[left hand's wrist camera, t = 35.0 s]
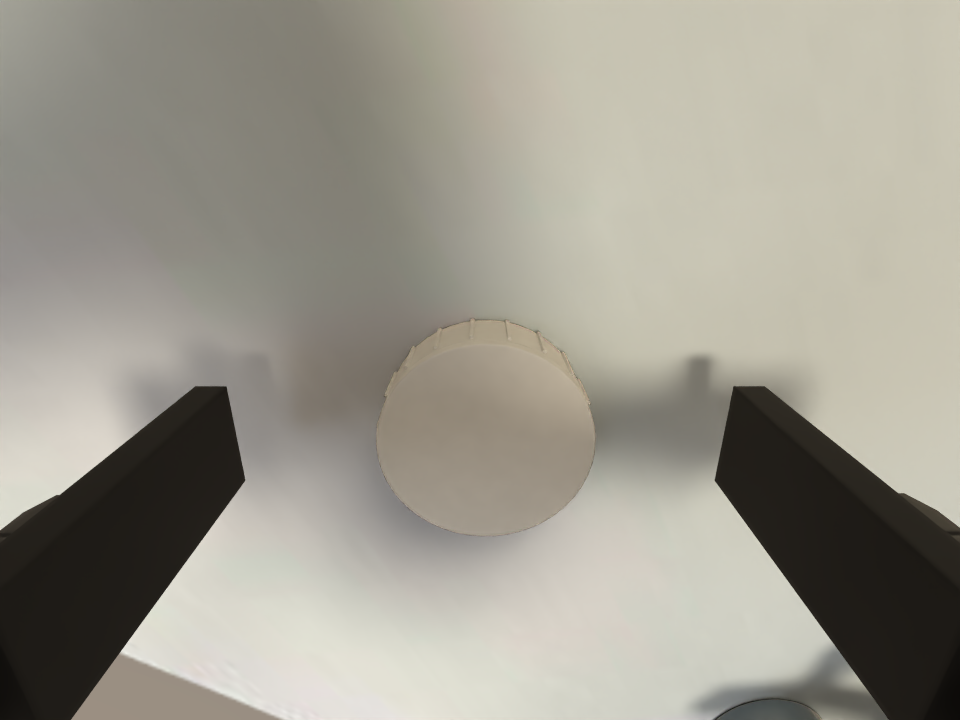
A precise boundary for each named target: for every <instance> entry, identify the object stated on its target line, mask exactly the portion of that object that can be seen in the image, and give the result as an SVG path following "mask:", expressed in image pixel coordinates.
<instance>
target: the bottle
mask: <svg viewBox="0 0 960 720" xmlns="http://www.w3.org/2000/svg"><path fill="white" fill-rule="evenodd" d="M716 720H822V718H821V717H820V716H819V715H818V714H817V713H816V712H815V711H814V710H812V709H811V708H809V707H807V706H805V705H803V704H801V703H798V702H794V701H789V700H781V699H768V700H760V701H754V702H750V703H746V704H743V705H741V706H738V707H736V708H734V709H731V710H730V711H728V712H726V713H724V714H723V715H722V716H720V717H719V718H718V719H716Z"/></svg>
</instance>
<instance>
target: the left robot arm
mask: <svg viewBox="0 0 960 720" xmlns="http://www.w3.org/2000/svg"><path fill="white" fill-rule="evenodd" d="M244 482H245V476H244V471H243V466H242V461H241V456H240V452H239V447H238V442H237V437H236V432H235V427H234V422H233V417H232V412H231V407H230V402H229V397H228V392H227V387H226V386H195V387H194V388H193V389H192V390H190V391H189V392H188V393H187V394H185V395H184V396H183V397H182V398H180V399H179V400H178V401H177V402H175V403H174V404H173V405H172V406H170V407H169V408H168V409H167V410H165V411H164V412H163V413H162V414H160V415H159V416H158V417H157V418H155V419H154V420H153V421H152V422H150V423H149V424H148V425H147V426H145V427H144V428H143V429H142V430H140V431H139V432H138V433H137V434H135V435H134V436H133V437H132V438H130V439H129V440H128V441H127V442H125V443H124V444H123V445H122V446H120V447H119V448H118V449H117V450H115V451H114V452H113V453H112V454H110V455H109V456H108V457H107V458H105V459H104V460H103V461H102V462H100V463H99V464H98V465H97V466H95V467H94V468H93V469H92V470H90V471H89V472H88V473H87V474H85V475H84V476H83V477H82V478H80V479H79V480H78V481H77V482H75V483H74V484H73V485H72V486H70V487H69V488H68V489H67V490H65V491H64V492H63V493H62V494H60V495H56V496H54V497H52V498H50V499H48V500H46V501H44V502H43V503H41V504H39V505H37V506H35V507H33V508H31V509H29V510H27V511H25V512H23V513H22V514H21V515H20V516H18V517H17V518H16V519H14V520H13V521H12V522H11V523H9V524H8V525H7V526H5V527H4V528H3V529H1V530H0V720H71V719H72V717H73V716H74V715H75V713H76V712H77V710H78V709H79V708H80V706H81V705H82V704H83V702H84V701H85V700H86V698H87V697H88V696H89V694H90V693H91V691H92V690H93V689H94V687H95V686H96V685H97V683H98V682H99V680H100V679H101V678H102V676H103V675H104V674H105V672H106V671H107V669H108V668H109V667H110V665H111V664H112V663H113V661H114V660H115V658H116V657H117V656H118V654H119V653H120V652H121V650H122V649H123V648H124V646H125V645H126V643H127V642H128V641H129V639H130V638H131V637H132V635H133V634H134V632H135V631H136V630H137V628H138V627H139V626H140V624H141V623H142V621H143V620H144V619H145V617H146V616H147V615H148V613H149V612H150V610H151V609H152V608H153V606H154V605H155V604H156V602H157V601H158V600H159V598H160V597H161V595H162V594H163V593H164V591H165V590H166V589H167V587H168V586H169V584H170V583H171V582H172V580H173V579H174V578H175V576H176V575H177V573H178V572H179V571H180V569H181V568H182V567H183V565H184V564H185V562H186V561H187V560H188V558H189V557H190V556H191V554H192V553H193V552H194V550H195V549H196V547H197V546H198V545H199V543H200V542H201V541H202V539H203V538H204V536H205V535H206V534H207V532H208V531H209V530H210V528H211V527H212V525H213V524H214V523H215V521H216V520H217V519H218V517H219V516H220V514H221V513H222V512H223V510H224V509H225V508H226V506H227V505H228V504H229V502H230V501H231V499H232V498H233V497H234V495H235V494H236V493H237V491H238V490H239V488H240V487H241V486H242V484H243V483H244ZM715 482H716V483H717V484H718V486H719V487H720V488H721V490H722V491H723V492H724V494H725V495H726V497H727V498H728V499H729V501H730V502H731V503H732V505H733V506H734V508H735V509H736V510H737V512H738V513H739V514H740V516H741V517H742V519H743V520H744V521H745V523H746V524H747V525H748V527H749V528H750V530H751V531H752V532H753V534H754V535H755V536H756V538H757V539H758V540H759V542H760V543H761V545H762V546H763V547H764V549H765V550H766V551H767V553H768V554H769V556H770V557H771V558H772V560H773V561H774V562H775V564H776V565H777V567H778V568H779V569H780V571H781V572H782V573H783V575H784V576H785V578H786V579H787V580H788V582H789V583H790V584H791V586H792V587H793V588H794V590H795V591H796V593H797V594H798V595H799V597H800V598H801V599H802V601H803V602H804V604H805V605H806V606H807V608H808V609H809V610H810V612H811V613H812V615H813V616H814V617H815V619H816V620H817V621H818V623H819V624H820V626H821V627H822V628H823V630H824V631H825V632H826V634H827V635H828V636H829V638H830V639H831V641H832V642H833V643H834V645H835V646H836V647H837V649H838V650H839V652H840V653H841V654H842V656H843V657H844V658H845V660H846V661H847V663H848V664H849V665H850V667H851V668H852V669H853V671H854V672H855V674H856V675H857V676H858V678H859V679H860V680H861V682H862V683H863V684H864V686H865V687H866V689H867V690H868V691H869V693H870V694H871V695H872V697H873V698H874V700H875V701H876V702H877V704H878V705H879V706H880V708H881V709H882V711H883V712H884V713H885V715H886V716H887V717H888V719H889V720H960V528H959V527H958V526H957V525H955V524H954V523H953V522H951V521H950V520H949V519H948V518H946V517H945V516H944V515H942V514H941V513H940V512H939V511H937V510H935V509H933V508H931V507H929V506H927V505H925V504H924V503H922V502H920V501H918V500H916V499H914V498H912V497H910V496H908V495H906V494H904V493H897V492H896V491H895V490H893V489H892V488H891V487H890V486H888V485H887V484H886V483H885V482H883V481H882V480H881V479H880V478H878V477H877V476H876V475H875V474H873V473H872V472H871V471H870V470H868V469H867V468H866V467H865V466H863V465H862V464H861V463H860V462H858V461H857V460H856V459H855V458H853V457H852V456H851V455H850V454H848V453H847V452H846V451H845V450H843V449H842V448H841V447H840V446H838V445H837V444H836V443H835V442H833V441H832V440H831V439H830V438H828V437H827V436H826V435H825V434H823V433H822V432H821V431H820V430H818V429H817V428H816V427H815V426H813V425H812V424H811V423H810V422H808V421H807V420H806V419H805V418H803V417H802V416H801V415H800V414H798V413H797V412H796V411H795V410H793V409H792V408H791V407H790V406H788V405H787V404H786V403H785V402H783V401H782V400H781V399H780V398H778V397H777V396H776V395H775V394H773V393H772V392H771V391H770V390H768V389H767V388H766V387H765V386H734V387H733V392H732V397H731V402H730V407H729V412H728V417H727V422H726V427H725V432H724V437H723V442H722V447H721V452H720V457H719V462H718V467H717V472H716V477H715Z"/></svg>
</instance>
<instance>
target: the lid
mask: <svg viewBox="0 0 960 720" xmlns="http://www.w3.org/2000/svg"><path fill="white" fill-rule="evenodd" d="M384 397H386V400H385V403H384V405H383V408H382V411H381V414H380V416H379V420H378V423H377V427H376V428H377V434H376V446H377V455H378V459H379V463H380V467H381V469H382V472H383V474H384V476H385V479H386V481H387V482H388V484H389V486H390V487H391V489H392V491H393V492H394V493H395V494H396V496H397V497H398V498H399V499H400V500H401V501H402V502H403V503H404V504H405V505H406V506H407V507H408V508H409V509H410V510H411V511H413V512H414V513H415V514H417V515H418V516H419V517H421V518H423V519H424V520H426V521H428V522H429V523H431V524H433V525H436V526H438V527H440V528H443V529H446V530H449V531H452V532H455V533H460V534H465V535H473V536H498V535H506V534H511V533H516V532H520V531H523V530H526V529H528V528H531V527H534V526H536V525H538V524H540V523H542V522H544V521H546V520H547V519H549V518H550V517H552V516H554V515H555V514H557V513H558V512H559V511H560V510H561V509H563V508H564V507H565V506H566V505H567V504H568V503H569V502H570V501H571V500H572V499H573V498H574V497H575V495H576V494H577V492H578V491H579V490H580V488H581V487H582V485H583V483H584V481H585V480H586V478H587V476H588V473H589V471H590V468H591V465H592V462H593V457H594V453H595V441H596V437H595V426H594V421H593V417H592V413H591V411H590V408H589V406H588V405H590V404H591V403H590V400H589V398H588V396H587V394H586V392H585V390H584V387H583V385H582V383H581V381H580V379H576V376H575V374H574V372H573V370H572V368H571V366H570V363H569V361H568V359H567V357H566V354H565V353H564V352H562V353H560V351H559V350H558V349H557V348H556V347H554V346H553V345H552V344H551V343H550V342H549V341H547V340H546V339H545V338H543V337H542V335H541V333H540V332H537V333H535V332H533V331H531V330H529V329H527V328H524V327H522V326H519V325H516V324H512V323H509V320H505V322H503V321H494V320H476V321H475V319H474V318H473V319H471V321H469V322H463V323H459V324H456V325H452V326H449V327H447V328H445V329H442V328H438V330H437V332H436V333H434V334H433V335H431V336H429V337H428V338H426V339H425V340H424V341H422V342H421V343H420V344H419V345H417V346H416V347H414V346H413V347H412V348H411V350H410V352H409V355H408V356H407V358H406V359H405V360H404V362H403V363H402V364H401V366H400V368H399V370H398V372H394V374H393V376H392V378H391V381H390V383H389V385H388V388H387V390H386V392H385V395H384Z"/></svg>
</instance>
